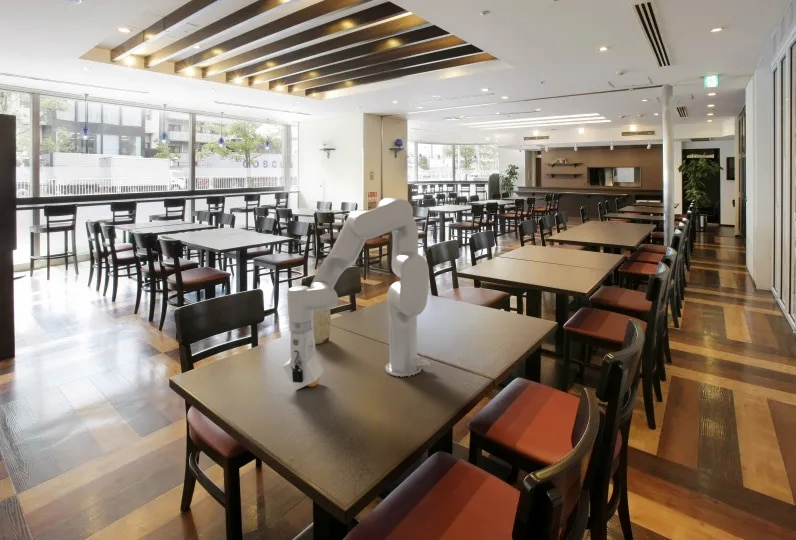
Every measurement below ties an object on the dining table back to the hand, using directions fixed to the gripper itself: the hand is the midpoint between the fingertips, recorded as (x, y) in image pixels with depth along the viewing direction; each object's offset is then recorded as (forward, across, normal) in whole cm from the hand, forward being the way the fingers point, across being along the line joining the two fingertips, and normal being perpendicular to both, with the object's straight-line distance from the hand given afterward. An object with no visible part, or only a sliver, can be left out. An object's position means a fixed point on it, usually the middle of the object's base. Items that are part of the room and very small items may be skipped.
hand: (303, 375), depth 149 cm
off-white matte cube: (+2, 0, -2) cm, 3 cm away
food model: (+4, +39, +8) cm, 40 cm away
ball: (+1, 0, -3) cm, 3 cm away
